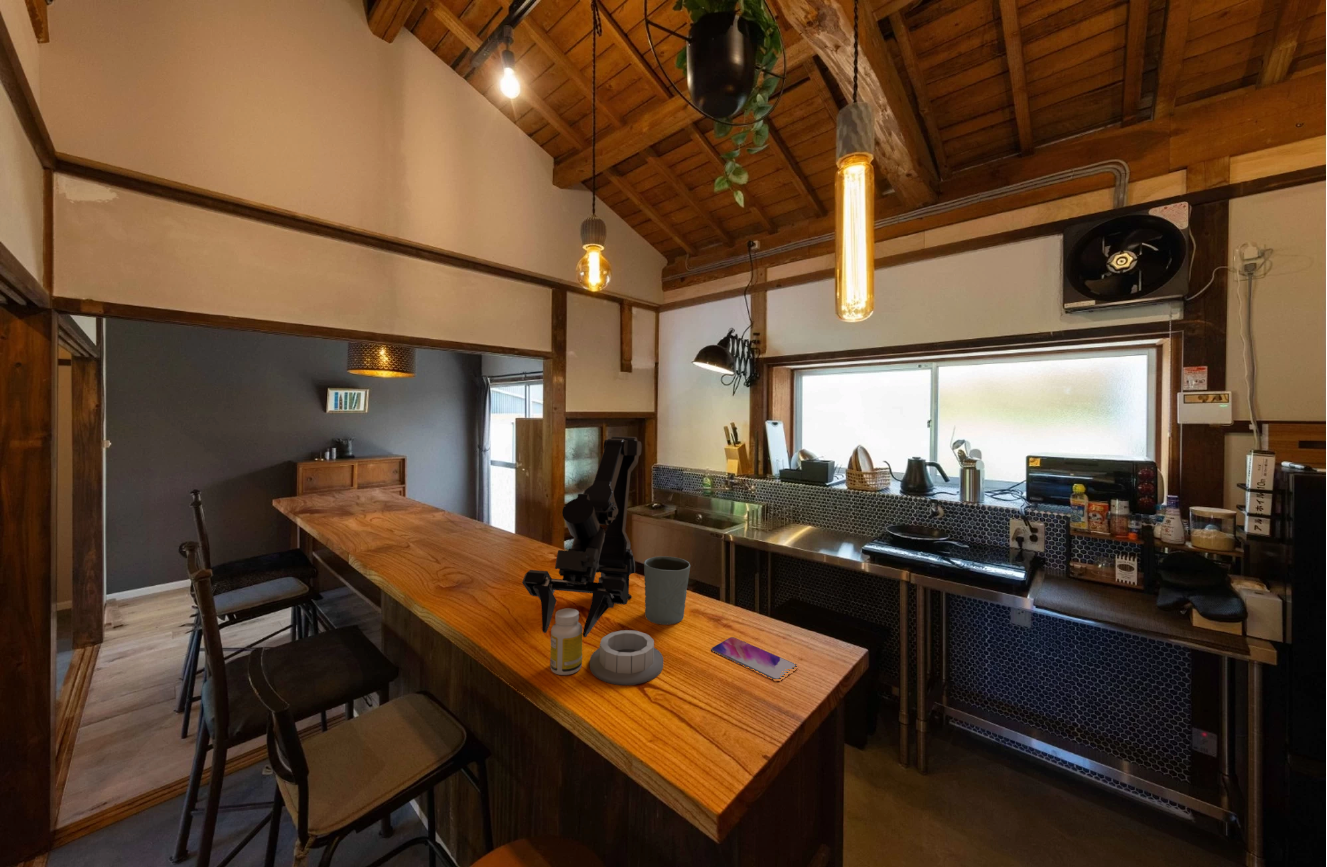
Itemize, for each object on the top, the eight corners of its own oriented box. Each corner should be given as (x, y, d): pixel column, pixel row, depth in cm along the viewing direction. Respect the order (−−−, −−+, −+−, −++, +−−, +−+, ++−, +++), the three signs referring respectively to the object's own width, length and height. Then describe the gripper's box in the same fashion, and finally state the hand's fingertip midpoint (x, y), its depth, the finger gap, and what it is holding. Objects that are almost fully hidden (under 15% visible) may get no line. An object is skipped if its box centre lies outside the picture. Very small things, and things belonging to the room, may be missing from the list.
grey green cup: (635, 611, 108) (636, 558, 108) (674, 604, 113) (676, 553, 113) (655, 630, 99) (656, 572, 99) (697, 621, 104) (698, 566, 104)
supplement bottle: (586, 662, 86) (588, 608, 85) (573, 678, 80) (574, 621, 80) (559, 657, 87) (560, 604, 87) (544, 673, 82) (545, 616, 82)
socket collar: (643, 641, 94) (644, 621, 94) (676, 674, 83) (677, 651, 83) (579, 655, 88) (580, 634, 88) (605, 693, 77) (606, 668, 77)
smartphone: (778, 681, 81) (709, 648, 92) (778, 686, 81) (709, 653, 92) (799, 665, 86) (732, 635, 97) (799, 669, 86) (732, 640, 97)
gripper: (527, 526, 88) (497, 610, 78) (627, 533, 85) (609, 621, 75) (543, 556, 96) (518, 635, 86) (635, 563, 93) (619, 646, 83)
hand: (564, 634), depth 82 cm, fingers open, 7 cm apart
